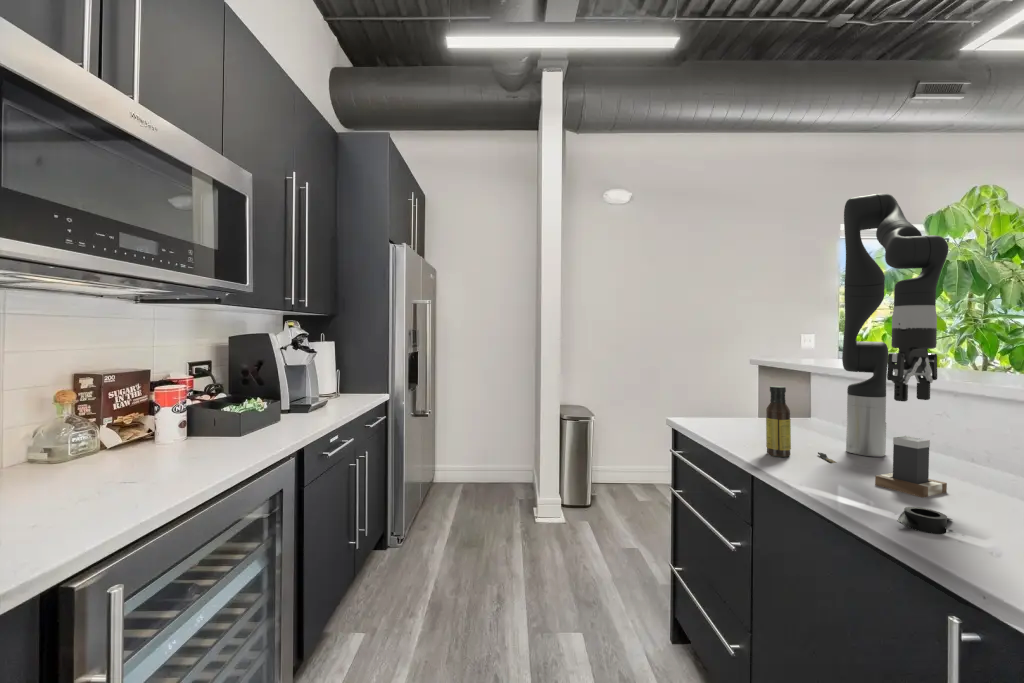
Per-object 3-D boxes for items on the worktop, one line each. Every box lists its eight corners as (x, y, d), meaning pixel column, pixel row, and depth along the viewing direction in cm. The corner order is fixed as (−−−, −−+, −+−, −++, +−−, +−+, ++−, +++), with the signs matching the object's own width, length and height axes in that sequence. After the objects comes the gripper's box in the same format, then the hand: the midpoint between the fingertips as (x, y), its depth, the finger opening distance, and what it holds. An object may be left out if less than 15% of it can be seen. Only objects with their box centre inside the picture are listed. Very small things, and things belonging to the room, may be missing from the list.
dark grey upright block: (904, 484, 107) (905, 435, 107) (928, 490, 103) (929, 440, 102) (892, 486, 105) (893, 437, 105) (916, 492, 101) (917, 441, 101)
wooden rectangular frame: (898, 484, 110) (898, 471, 110) (946, 496, 101) (946, 482, 101) (875, 489, 106) (875, 475, 106) (923, 502, 98) (923, 487, 98)
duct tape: (882, 516, 90) (883, 501, 90) (947, 524, 87) (948, 509, 87) (900, 532, 83) (900, 516, 83) (972, 541, 79) (973, 524, 79)
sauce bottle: (790, 454, 137) (792, 386, 137) (790, 458, 132) (792, 388, 132) (765, 451, 140) (767, 384, 140) (764, 455, 135) (766, 386, 135)
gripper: (912, 328, 110) (910, 397, 110) (875, 326, 104) (873, 399, 104) (952, 327, 103) (951, 401, 103) (915, 325, 97) (913, 403, 97)
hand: (912, 400), depth 103 cm, fingers open, 8 cm apart
